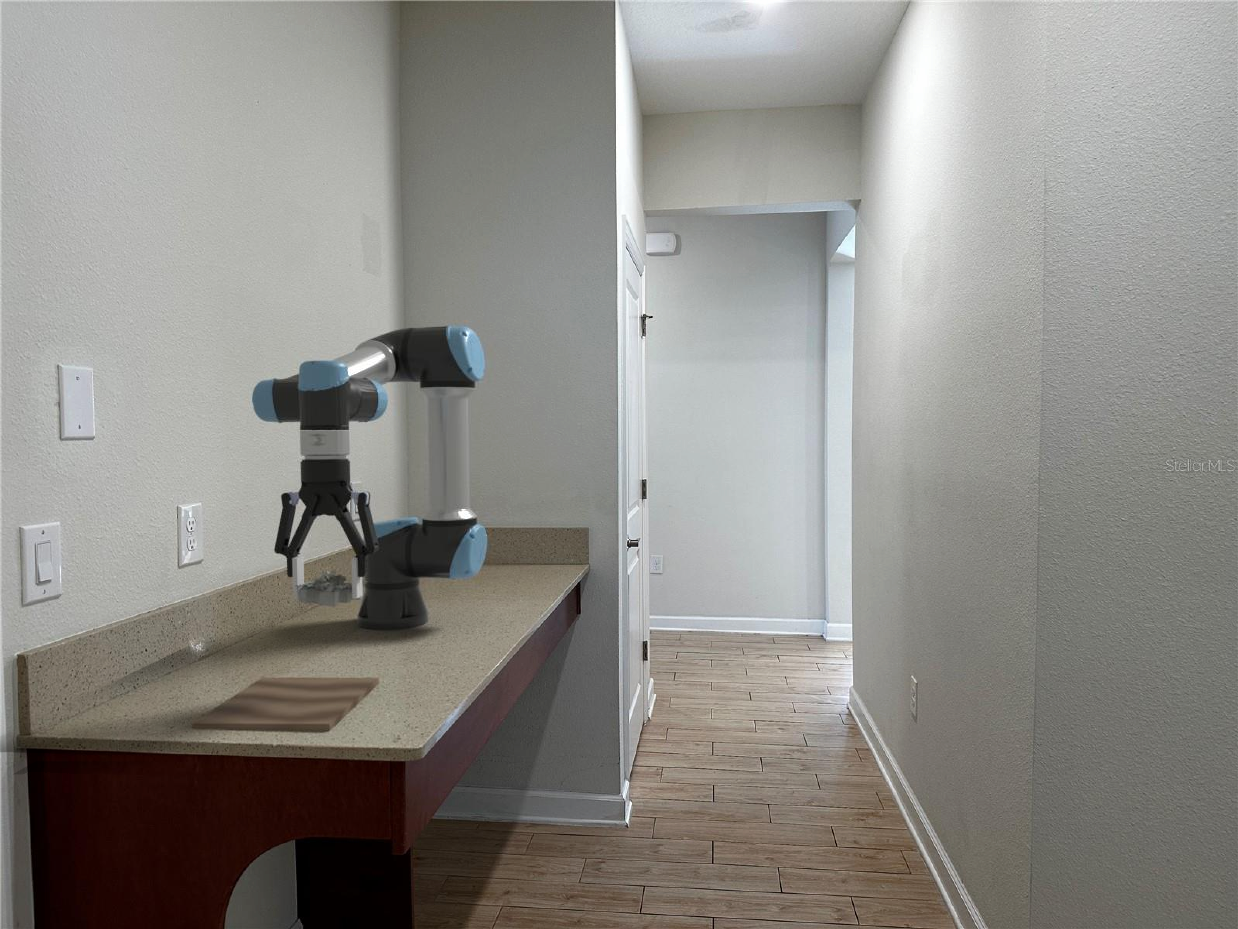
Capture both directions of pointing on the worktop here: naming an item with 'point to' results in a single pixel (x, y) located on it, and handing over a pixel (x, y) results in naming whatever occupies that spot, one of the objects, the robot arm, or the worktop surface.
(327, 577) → the egg carton
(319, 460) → the robot arm
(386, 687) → the worktop surface
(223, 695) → the worktop surface
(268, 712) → the walnut board
